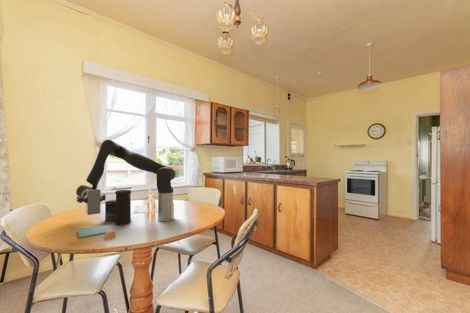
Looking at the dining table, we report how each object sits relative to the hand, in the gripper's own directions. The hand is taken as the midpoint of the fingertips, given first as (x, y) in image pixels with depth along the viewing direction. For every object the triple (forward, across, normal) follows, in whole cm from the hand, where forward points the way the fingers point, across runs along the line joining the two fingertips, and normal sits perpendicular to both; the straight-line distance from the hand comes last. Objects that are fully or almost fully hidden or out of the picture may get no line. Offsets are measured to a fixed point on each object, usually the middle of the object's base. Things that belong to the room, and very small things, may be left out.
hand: (94, 200), depth 118 cm
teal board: (-2, 0, +17) cm, 17 cm away
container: (-10, +16, +17) cm, 26 cm away
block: (+12, +5, +17) cm, 22 cm away
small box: (-21, +16, +18) cm, 31 cm away
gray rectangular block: (-3, 0, +7) cm, 7 cm away
